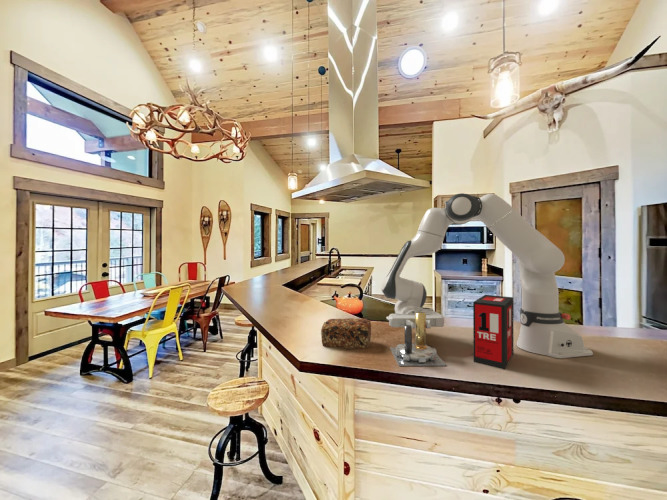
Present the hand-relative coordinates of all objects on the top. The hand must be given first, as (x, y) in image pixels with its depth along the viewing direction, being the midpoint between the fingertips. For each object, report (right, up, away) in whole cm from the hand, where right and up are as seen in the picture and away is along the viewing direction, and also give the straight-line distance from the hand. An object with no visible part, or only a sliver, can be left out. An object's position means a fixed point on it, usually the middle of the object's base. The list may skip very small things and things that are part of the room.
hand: (421, 326), depth 99 cm
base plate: (-2, -10, -1) cm, 11 cm away
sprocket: (-2, -10, -1) cm, 11 cm away
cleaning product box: (+24, -10, -3) cm, 26 cm away
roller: (0, -7, +1) cm, 7 cm away
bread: (-26, -11, +12) cm, 31 cm away
